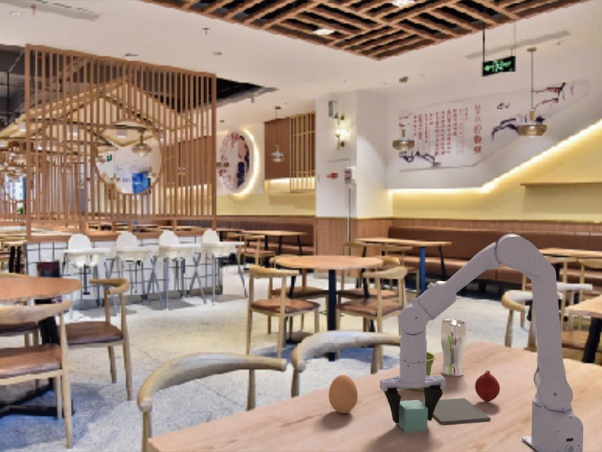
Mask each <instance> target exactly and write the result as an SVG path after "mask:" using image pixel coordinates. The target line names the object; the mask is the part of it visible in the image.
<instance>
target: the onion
mask: <svg viewBox="0 0 602 452" xmlns="http://www.w3.org/2000/svg"><path fill="white" fill-rule="evenodd" d="M474 389H475V393H476V394H477V396H478V397H479V398H480V399H481V400H483V401H484V402H485V403H489V402H491V401H493V400H495V399H496V398H497V397H498V396H499V394H500V391H501V386H500V382H499V381H498V379H497V377H495V376H494V375H492V374H491V371H490V370H489V369H487V370H485V372H484V373H483V374H481V375H480V376H478V377H477V378H476V380H475V383H474Z"/></svg>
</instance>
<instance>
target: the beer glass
mask: <svg viewBox="0 0 602 452" xmlns="http://www.w3.org/2000/svg"><path fill="white" fill-rule="evenodd" d="M466 326H467V325H466V321H463V320H461V319H453V318H451V319H442V321H441V330H440V343H441V344H440V345H441V351H442V356H443V357H442V367H441V373H442V374H443V375H445V376H449V377H462V376H463V375H464V368H463V367H464V366H463V358H464V353H465V347H466V344H467V343H466V340H467V329H466V328H467V327H466Z"/></svg>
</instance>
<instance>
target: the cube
mask: <svg viewBox="0 0 602 452" xmlns="http://www.w3.org/2000/svg"><path fill="white" fill-rule="evenodd" d="M428 422H429V421H428V408H427V407H426V406H425V405H423V404H422V403H421V402H420V400H419V399H413V400H400V406H399V423H397V424H398V426H400V428H401V429H402V431H403V432H405V433H415V432H427V431H428Z"/></svg>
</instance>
